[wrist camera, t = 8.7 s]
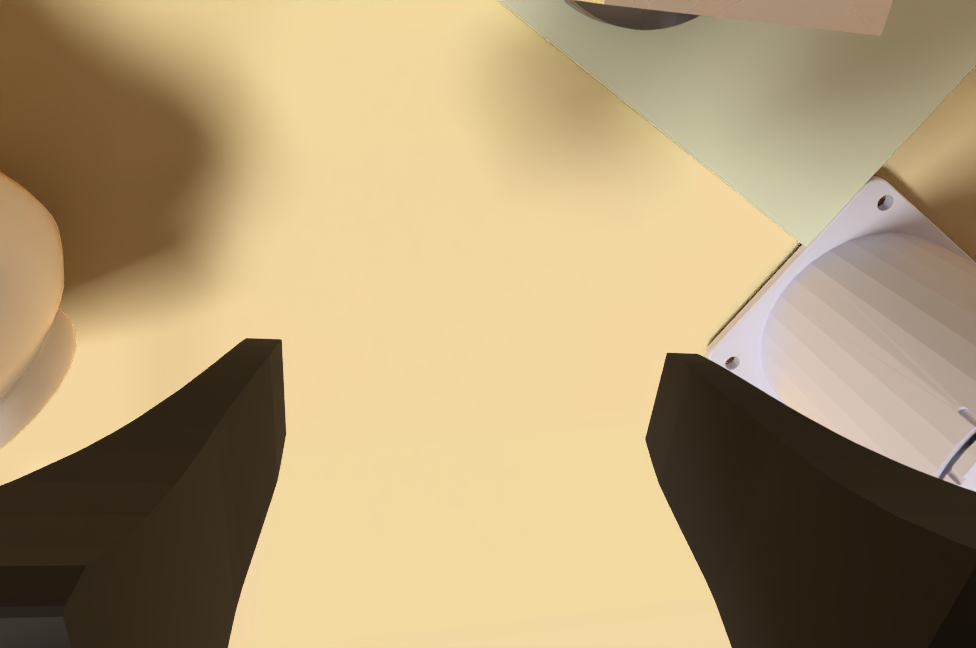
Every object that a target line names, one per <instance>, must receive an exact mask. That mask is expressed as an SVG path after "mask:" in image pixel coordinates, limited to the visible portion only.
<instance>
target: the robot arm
mask: <svg viewBox="0 0 976 648" xmlns="http://www.w3.org/2000/svg"><path fill="white" fill-rule="evenodd" d="M885 195H886V198H885V201H884V203H883V204H882V205H880V206H879V207H877V205H878V201H879V200H880V198H882V197H883V196H885ZM705 356H706V358H705V357H703V356H701V355H698V354H683V353H667V355H666V359H665V363H664V367H663V371H662V375H661V379H660V383H659V387H658V391H657V395H656V399H655V403H654V407H653V411H652V415H651V419H650V423H649V427H648V431H647V435H646V439H645V440H646V443H647V447H648V450H649V454H650V457H651V461H652V464H653V467H654V470H655V473H656V476H657V479H658V482H659V485H660V487H661V489H662V491H663V493H664V495H665V497H666V500H667V502H668V504H669V506H670V508H671V510H672V512H673V514H674V516H675V518H676V520H677V522H678V524H679V527H680V529H681V531H682V533H683V535H684V537H685V539H686V541H687V543H688V545H689V547H690V549H691V551H692V553H693V555H694V557H695V559H696V561H697V563H698V565H699V567H700V569H701V571H702V573H703V575H704V577H705V579H706V582H707V584H708V586H709V588H710V591H711V593H712V595H713V598H714V600H715V602H716V605H717V608H718V610H719V613H720V616H721V619H722V621H723V624H724V627H725V630H726V632H727V635H728V638H729V641H730V644H731V646H732V648H976V262H975V261H974V260H973V259H972V258H971V257H970V256H968V255H967V254H966V253H965V252H964V251H963V250H962V249H961V248H960V247H959V246H958V245H956V244H955V243H954V242H953V241H952V240H951V239H950V238H949V237H948V236H947V235H946V234H944V233H943V232H942V231H941V230H940V229H939V228H938V227H937V226H936V225H935V224H933V223H932V222H931V221H930V220H929V219H928V218H927V217H926V216H925V215H924V214H923V213H921V212H920V211H919V210H918V209H917V208H916V207H915V206H914V205H913V204H912V203H911V202H909V201H908V200H907V199H906V198H905V197H904V196H903V195H902V194H901V193H900V192H898V191H897V190H896V189H895V188H894V187H893V186H892V185H891V184H890V183H889V182H888V181H886V180H884V179H882V178H880V177H877V176H872V177H871V178H870V179H869V180H868V181H867V183H866V184H865V185H864V186H863V187H862V188H861V189H860V190H859V191H858V192H857V193H856V194H855V195H854V196H853V198H852V199H851V200H850V201H849V202H848V203H847V204H846V205H845V206H844V207H843V208H842V209H841V210H840V212H839V213H838V214H837V215H836V216H835V217H834V218H833V219H832V220H831V221H830V222H829V223H828V224H827V225H826V227H825V228H824V229H823V230H822V231H821V232H820V233H819V234H818V235H817V236H816V237H815V238H814V239H813V240H812V242H811V243H810V244H809V245H808V246H807V247H805V246H804V245H801V246H800V248H799V249H798V250H797V251H796V252H795V253H794V254H793V255H792V256H791V257H790V258H789V259H788V260H787V262H786V263H785V264H784V265H783V266H782V267H781V268H780V269H779V270H778V271H777V272H776V273H775V274H774V276H773V277H772V278H771V279H770V280H769V281H768V282H767V283H766V284H765V285H764V286H763V287H762V288H761V290H760V291H759V292H758V293H757V294H756V295H755V296H754V297H753V298H752V299H751V300H750V301H749V302H748V304H747V305H746V306H745V307H744V308H743V309H742V310H741V311H740V312H739V313H738V314H737V315H736V316H735V318H734V319H733V320H732V321H731V322H730V323H729V324H728V325H727V326H726V327H725V328H724V329H723V330H722V332H721V333H720V334H719V335H718V336H717V337H716V338H715V339H714V340H713V341H712V342H711V343H710V345H709V346H708V347H707V349H706V352H705ZM730 357H735V358H734V360H733V361H732V362H731V363H728V364H725V363H726V361H727V360H728V359H729V358H730ZM285 436H286V423H285V402H284V381H283V360H282V340H280V339H251V338H246V339H245V340H243V341H242V342H240V343H239V344H238V345H236V346H235V347H234V348H233V349H231V350H230V351H229V352H228V353H226V354H225V355H224V356H223V357H221V358H220V359H219V360H218V361H216V362H215V363H214V364H213V365H211V366H210V367H209V368H208V369H206V370H205V371H204V372H202V373H201V374H200V375H198V376H197V377H196V378H194V379H193V380H192V381H191V382H189V383H188V384H187V385H185V386H184V387H183V388H181V389H180V390H178V391H177V392H175V393H174V394H173V395H171V396H170V397H168V398H167V399H165V400H164V401H162V402H161V403H159V404H158V405H156V406H155V407H153V408H152V409H150V410H149V411H147V412H146V413H145V414H143V415H142V416H140V417H139V418H137V419H135V420H134V421H132V422H130V423H129V424H127V425H125V426H124V427H122V428H120V429H119V430H117V431H115V432H113V433H112V434H110V435H108V436H106V437H104V438H102V439H101V440H99V441H97V442H95V443H93V444H91V445H90V446H88V447H86V448H84V449H82V450H80V451H78V452H76V453H74V454H72V455H69V456H67V457H65V458H63V459H61V460H58V461H56V462H54V463H52V464H50V465H47V466H45V467H43V468H41V469H39V470H36V471H34V472H32V473H30V474H28V475H25V476H23V477H21V478H19V479H16V480H14V481H12V482H9V483H7V484H4V485H1V486H0V648H228V644H229V639H230V634H231V630H232V625H233V621H234V616H235V612H236V608H237V604H238V601H239V597H240V594H241V590H242V587H243V584H244V581H245V578H246V575H247V572H248V569H249V566H250V563H251V560H252V557H253V554H254V551H255V548H256V545H257V542H258V539H259V536H260V533H261V530H262V527H263V524H264V521H265V518H266V514H267V511H268V508H269V505H270V502H271V499H272V496H273V493H274V490H275V487H276V483H277V480H278V475H279V470H280V464H281V459H282V453H283V448H284V442H285Z"/></svg>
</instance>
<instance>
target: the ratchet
mask: <svg viewBox="0 0 976 648" xmlns="http://www.w3.org/2000/svg"><path fill="white" fill-rule="evenodd" d="M564 1H565V2H566V3H567V4H568V5H569V6H571V7H572V8H574V9H575V10H576V11H578V12H579V13H581V14H583V15H585V16H587V17H589V18H591V19H594V20H596V21H599V22H602V23H605V24H610V25H614V26H618V27H622V28H628V29H634V30H656V29H665V28H669V27H673V26H676V25H680V24H683V23H685V22H688V21H690V20H692V19H695V18H697V17H699V16H700V15H694V14H685V13H676V12H667V11H659V10H650V9H641V8H632V7H624V6H615V5H606V4H599V3H592V2H585V1H578V0H564Z"/></svg>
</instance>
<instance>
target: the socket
mask: <svg viewBox="0 0 976 648" xmlns="http://www.w3.org/2000/svg"><path fill="white" fill-rule="evenodd" d="M578 1H585V2H592V3H599V4H606V5H615V6H624V7H632V8H641V9H650V10H659V11H667V12H676V13H685V14H694V15H702V16H711V17H720V18H729V19H737V20H746V21H755V22H764V23H772V24H781V25H790V26H799V27H807V28H816V29H825V30H834V31H842V32H851V33H860V34H869V35H877V36H881V34H882V31H883V28H884V25H885V22H886V19H887V16H888V14H889V11H890V8H891V5H892V2H893V0H578Z"/></svg>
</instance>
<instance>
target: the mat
mask: <svg viewBox="0 0 976 648" xmlns="http://www.w3.org/2000/svg"><path fill="white" fill-rule="evenodd" d="M497 1H499V2H500V3H501V4H502V5H504V6H505V7H506V8H507V9H509V10H510V11H511V12H512V13H514V14H515V15H516V16H517V17H519V18H520V19H521V20H522V21H524V22H525V23H526V24H527V25H529V26H530V27H531V28H532V29H534V30H535V31H536V32H537V33H539V34H540V35H541V36H542V37H544V38H545V39H546V40H547V41H549V42H550V43H551V44H552V45H554V46H555V47H556V48H557V49H559V50H560V51H561V52H562V53H563V54H565V55H566V56H567V57H568V58H570V59H571V60H572V61H573V62H575V63H576V64H577V65H578V66H580V67H581V68H582V69H583V70H585V71H586V72H587V73H588V74H590V75H591V76H592V77H593V78H595V79H596V80H597V81H598V82H600V83H601V84H602V85H603V86H605V87H606V88H607V89H608V90H610V91H611V92H612V93H613V94H615V95H616V96H617V97H618V98H620V99H621V100H622V101H623V102H625V103H626V104H627V105H628V106H630V107H631V108H632V109H633V110H635V111H636V112H637V113H638V114H640V115H641V116H642V117H643V118H645V119H646V120H647V121H648V122H650V123H651V124H652V125H653V126H655V127H656V128H657V129H658V130H660V131H661V132H662V133H663V134H665V135H666V136H667V137H668V138H670V139H671V140H672V141H673V142H675V143H676V144H677V145H678V146H679V147H681V148H682V149H683V150H684V151H686V152H687V153H688V154H689V155H691V156H692V157H693V158H694V159H696V160H697V161H698V162H699V163H701V164H702V165H703V166H704V167H706V168H707V169H708V170H709V171H711V172H712V173H713V174H714V175H716V176H717V177H718V178H719V179H721V180H722V181H723V182H724V183H726V184H727V185H728V186H729V187H731V188H732V189H733V190H734V191H736V192H737V193H738V194H739V195H741V196H742V197H743V198H744V199H746V200H747V201H748V202H749V203H751V204H752V205H753V206H754V207H756V208H757V209H758V210H759V211H761V212H762V213H763V214H764V215H766V216H767V217H768V218H769V219H771V220H772V221H773V222H774V223H776V224H777V225H778V226H779V227H781V228H782V229H783V230H784V231H786V232H787V233H788V234H789V235H791V236H792V237H793V238H794V239H795V240H797V241H798V242H799V243H801V244H802V245H804V246H805V247H807V246H808V245H809V244H810V243H811V242H812V240H813V239H814V238H815V237H816V236H817V235H818V234H819V233H820V232H821V231H822V230H823V229H824V228H825V227H826V225H827V224H828V223H829V222H830V221H831V220H832V219H833V218H834V217H835V216H836V215H837V214H838V213H839V212H840V210H841V209H842V208H843V207H844V206H845V205H846V204H847V203H848V202H849V201H850V200H851V199H852V198H853V196H854V195H855V194H856V193H857V192H858V191H859V190H860V189H861V188H862V187H863V186H864V185H865V184H866V183H867V181H868V180H869V179H870V178H871V177H872V176H873V175H874V174H875V173H876V172H877V171H878V170H879V169H880V168H881V166H882V165H883V164H884V163H885V162H886V161H887V160H888V159H889V158H890V157H891V156H892V155H893V154H894V152H895V151H896V150H897V149H898V148H899V147H900V146H901V145H902V144H903V143H904V142H905V141H906V140H907V139H908V137H909V136H910V135H911V134H912V133H913V132H914V131H915V130H916V129H917V128H918V127H919V126H920V125H921V124H922V122H923V121H924V120H925V119H926V118H927V117H928V116H929V115H930V114H931V113H932V112H933V111H934V110H935V108H936V107H937V106H938V105H939V104H940V103H941V102H942V101H943V100H944V99H945V98H946V97H947V96H948V95H949V93H950V92H951V91H952V90H953V89H954V88H955V87H956V86H957V85H958V84H959V83H960V82H961V81H962V80H963V78H964V77H965V76H966V75H967V74H968V73H969V72H970V71H971V70H972V69H973V68H974V67H975V66H976V0H893V2H892V5H891V8H890V11H889V14H888V16H887V19H886V22H885V25H884V28H883V31H882V34H881V36H877V35H869V34H860V33H851V32H842V31H834V30H825V29H816V28H807V27H799V26H790V25H781V24H772V23H764V22H755V21H746V20H737V19H729V18H720V17H711V16H702V15H700V16H699V17H697V18H695V19H692V20H690V21H688V22H685V23H683V24H680V25H676V26H673V27H669V28H665V29H656V30H634V29H628V28H622V27H618V26H614V25H610V24H605V23H602V22H599V21H596V20H594V19H591V18H589V17H587V16H585V15H583V14H581V13H579V12H578V11H576V10H575V9H574V8H572V7H571V6H569V5H568V4H567V3H566V2H565V1H564V0H497Z"/></svg>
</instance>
